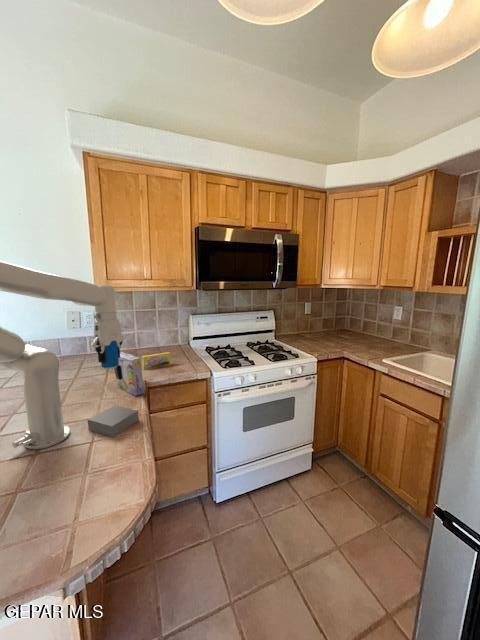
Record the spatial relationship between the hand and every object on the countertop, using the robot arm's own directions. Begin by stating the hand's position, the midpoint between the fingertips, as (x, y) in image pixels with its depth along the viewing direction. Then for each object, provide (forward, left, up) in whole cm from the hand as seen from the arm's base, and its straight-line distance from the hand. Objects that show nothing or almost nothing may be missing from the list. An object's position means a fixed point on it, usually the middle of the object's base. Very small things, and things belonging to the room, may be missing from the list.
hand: (109, 359), depth 110 cm
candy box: (+49, +19, -22) cm, 57 cm away
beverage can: (0, 0, -3) cm, 3 cm away
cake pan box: (+17, +8, -21) cm, 28 cm away
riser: (-10, -11, -21) cm, 26 cm away
